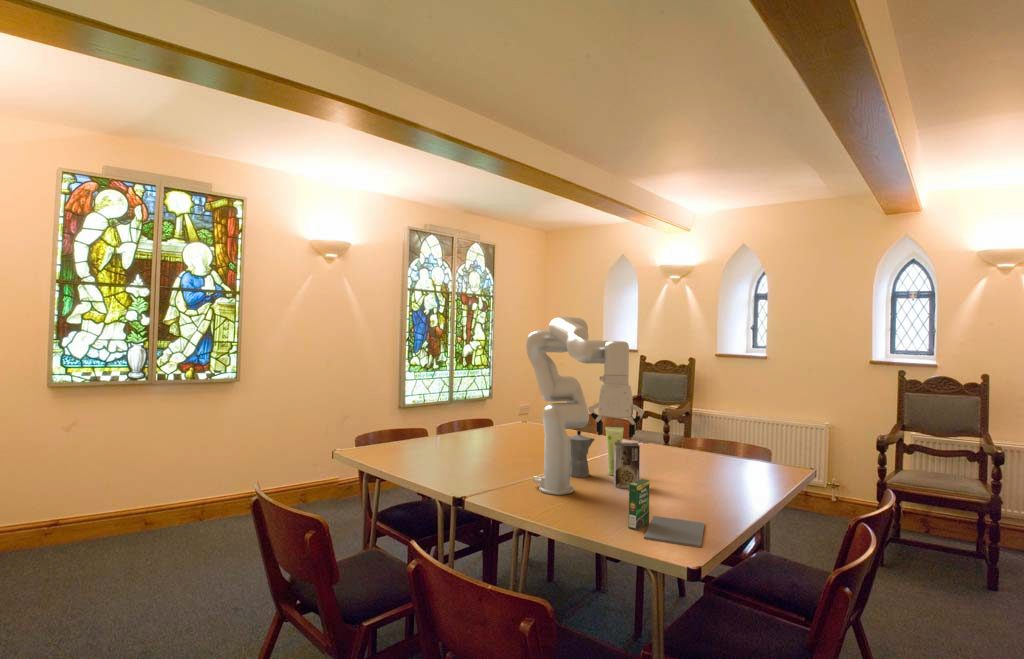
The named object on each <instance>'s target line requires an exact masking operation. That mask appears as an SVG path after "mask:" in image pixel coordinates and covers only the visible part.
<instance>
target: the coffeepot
mask: <svg viewBox="0 0 1024 659" xmlns="http://www.w3.org/2000/svg"><path fill="white" fill-rule="evenodd" d="M576 433H577V435H570V436H569V435H568V436H569V439H570V442H571V452H570V478H571V477H572V478H579V479H580V478H583V479H584V478H588V477H589V476H590V470H589V469H590V468H589V462H588V454H589V448H590V447H591V445H592V443H593V442H594V441H595V440H596V439H595V438H593V437H590V436H589V437H588V436H584V435H581V434H582V430H577V431H576Z"/></svg>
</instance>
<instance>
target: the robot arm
mask: <svg viewBox="0 0 1024 659" xmlns="http://www.w3.org/2000/svg"><path fill="white" fill-rule="evenodd" d="M525 349H526V355H527V358H528V360H529V362H530V364H531V366H532V369H533V370H534V374H535V379H536V382H537V386H538V389H539V390H538V391H539V394H540V396H541V399H542V400H544V401H545V402H550V403H549V404H547V405H546V406H545V407H544V408H543V410H542V414H541V415H542V425H543V431H544V432H543V433H544V453H543V454H544V456H543V475H542V476H537V475H533V477H532V482H533V483H536V484H538V483H539V484H540V485H539V486H538V487H539V488H538V489H539V491H540V492H541V493H545V494H548V495H555V496H557V495H559V496H561V495H569V494H572V493H574V492H575V488H574V486H573V485H571V482H570V481H571V476H570V452H571V442H570V439H569V435H568V433H567V432H566V430H572V429H582V428H584V427H586V426H587V425H588V423H589V421H590V420H589V419H590V416H591V417H592V419H593V420H595V422H596V433H597V435H598V436H601V435H603V433H604V432H603V431H604V430H603V429H604V428H603V427H604V426H603V425H604V424H603V423H604V422H603V419H604V418H613V419H614V418H615V419H627V421H628V422H629V425H628V437H629V438H630V439H632V438H634V436H635V435H636V424H637V423H638V422H639V421H640V420H641V419H642V417H643V415H644V413H645V410H644V409H642V408H640V407H639V406H637V405H636V404H634V403H633V402H634V401H633V400H634V399H633V392H632V386H631V385H629V372H630V370H629V368H630V367H629V366H630V365H629V364H630V345H629V343H628V342H626V341H625V340H624V341H623V340H622V341H621V340H599V339H598V340H597V339H593V340H592V339H591V340H589V326H588V323H587V322H586V320H584V319H583V318H581V317H575V316H573V317H572V316H558V317H554V318H553V319H552V320H551V321H550V323H549V325H548V329H540V330H535V331H532V332H530V333H529V334H528V336H527V338H526V342H525ZM567 352H568V355H569V356H570V357H571V358H573V359H575V360H576V361H578V362H579V363H582V364H590V365H591V364H600V365H603V364H604V365H603V366H604V367H603V369H604V370H603V372H604V373H603V375H602V376H599V381H600V382H603V384H601V385H600V389H599V396H598V402H597V403H595V404H593V405H591V406H589V407H588V406H587V401H586V399H585V395H584V392H583V388H582V386H581V384H580V382H579V380H578V379H577V378H575V377H574V376H570V375H567V376H566V375H564V376H563V375H560V373H559V372H558V367H557V365H556V363H555V361H554V360H553V358H551V357H550V356H549V355H548V354H547V353H561V354H562V353H567ZM595 409H597V410H598V413H596V411H595ZM634 411H635V412H637V416H635V417H634V416H633V414H634Z"/></svg>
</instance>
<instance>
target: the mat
mask: <svg viewBox="0 0 1024 659" xmlns="http://www.w3.org/2000/svg"><path fill="white" fill-rule="evenodd" d="M705 524H706V523H705V522H701V521H700V522H699V521H694V520H693V521H692V520H687V519H680V518H678V519H677V518H672V517H665V516H657V515H653V516H652V518H651V521H649V524H648V527H647V529H646V531H645V534H644V535H643V539H645V540H651V541H655V540H656V542H657V541H658V542H662V541H663V542H662V543H668V542H669V544H674V543H675V544H676V545H681V544H682V545H683V546H687V545H688V547H694V546H697V547H696V548H700V547H701V548H702V545H701V544H702V543H703V538H704V537H703V536H704V531H705ZM682 545H681V546H682Z"/></svg>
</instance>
